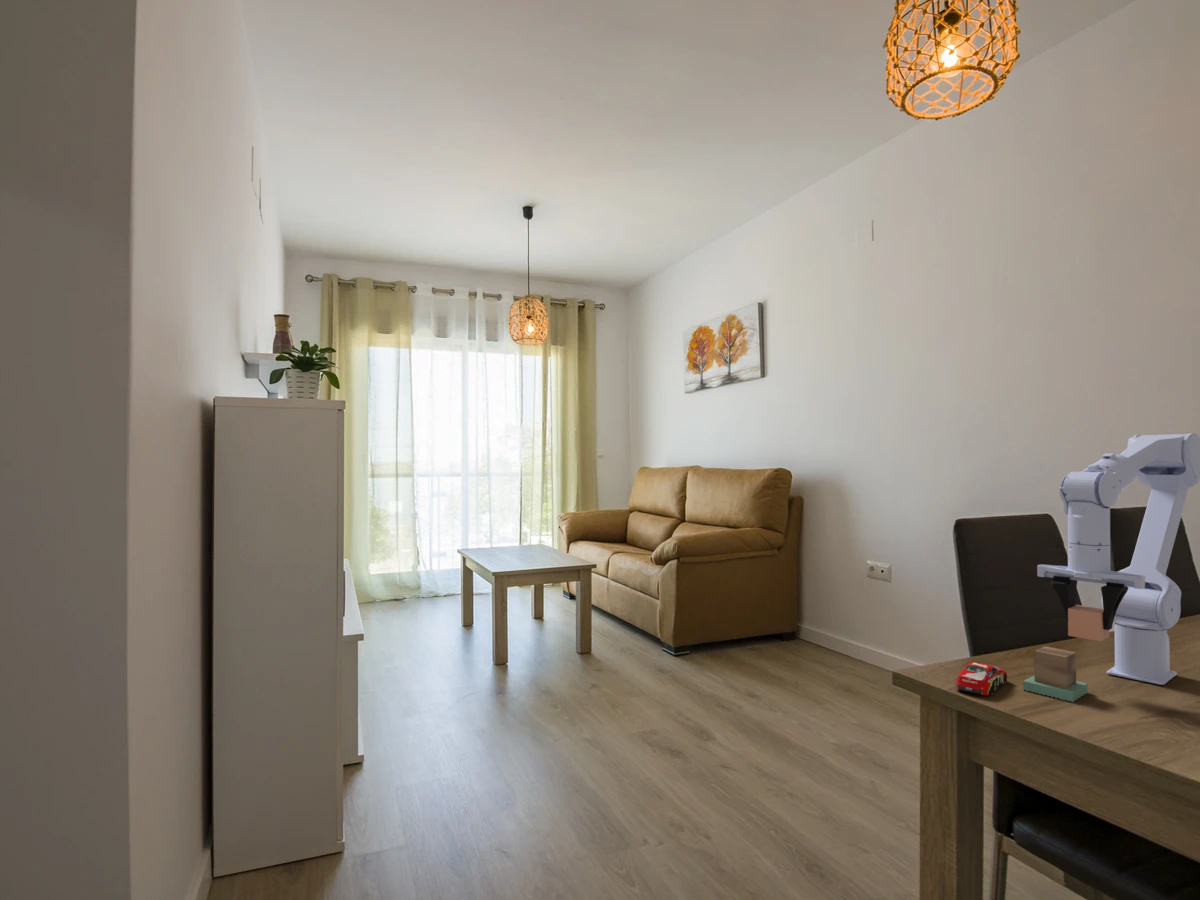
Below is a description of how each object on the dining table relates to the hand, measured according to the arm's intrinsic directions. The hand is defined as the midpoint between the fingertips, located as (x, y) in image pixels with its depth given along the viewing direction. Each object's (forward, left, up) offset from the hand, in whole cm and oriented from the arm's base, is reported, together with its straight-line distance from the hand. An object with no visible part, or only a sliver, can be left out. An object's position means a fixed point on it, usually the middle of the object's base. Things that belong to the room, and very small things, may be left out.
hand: (1088, 625), depth 113 cm
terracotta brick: (0, 0, -2) cm, 2 cm away
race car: (+12, -12, -11) cm, 20 cm away
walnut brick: (+6, -3, -9) cm, 11 cm away
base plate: (+6, -3, -10) cm, 12 cm away
